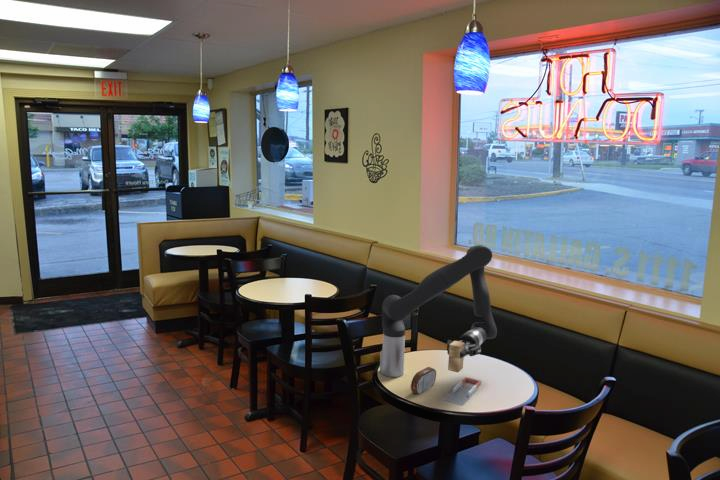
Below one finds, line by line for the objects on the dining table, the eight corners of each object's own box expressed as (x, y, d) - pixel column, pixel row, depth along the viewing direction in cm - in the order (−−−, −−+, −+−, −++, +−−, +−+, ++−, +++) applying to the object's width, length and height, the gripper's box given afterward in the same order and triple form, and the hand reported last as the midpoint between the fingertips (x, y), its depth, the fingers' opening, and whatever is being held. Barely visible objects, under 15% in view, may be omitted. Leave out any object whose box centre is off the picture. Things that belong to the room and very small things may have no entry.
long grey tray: (442, 401, 206) (442, 396, 205) (463, 380, 225) (463, 376, 225) (462, 406, 202) (463, 401, 201) (482, 385, 221) (482, 380, 221)
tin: (430, 383, 222) (431, 363, 220) (437, 385, 220) (438, 365, 218) (409, 395, 210) (410, 374, 209) (416, 397, 208) (417, 377, 207)
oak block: (447, 369, 203) (449, 344, 202) (452, 365, 208) (454, 340, 206) (458, 372, 201) (459, 346, 200) (462, 368, 206) (464, 342, 204)
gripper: (454, 328, 219) (437, 340, 205) (488, 335, 212) (474, 348, 198) (453, 346, 221) (436, 359, 206) (487, 354, 213) (472, 368, 199)
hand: (454, 353), depth 202 cm, fingers closed on oak block, 4 cm apart
